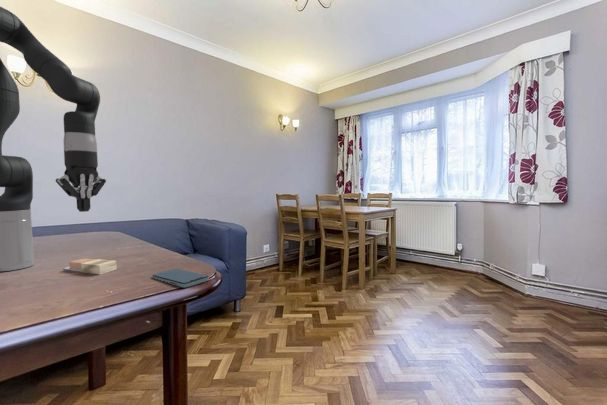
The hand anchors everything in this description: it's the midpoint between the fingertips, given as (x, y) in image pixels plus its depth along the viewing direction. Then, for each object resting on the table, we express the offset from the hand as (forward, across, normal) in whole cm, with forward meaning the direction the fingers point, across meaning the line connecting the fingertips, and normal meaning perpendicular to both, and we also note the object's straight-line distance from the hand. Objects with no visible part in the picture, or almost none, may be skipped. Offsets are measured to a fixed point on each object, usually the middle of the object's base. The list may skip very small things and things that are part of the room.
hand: (83, 211), depth 84 cm
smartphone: (+17, -1, +32) cm, 37 cm away
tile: (+17, 0, -2) cm, 17 cm away
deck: (+17, 0, +5) cm, 18 cm away
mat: (+17, 0, -2) cm, 17 cm away
